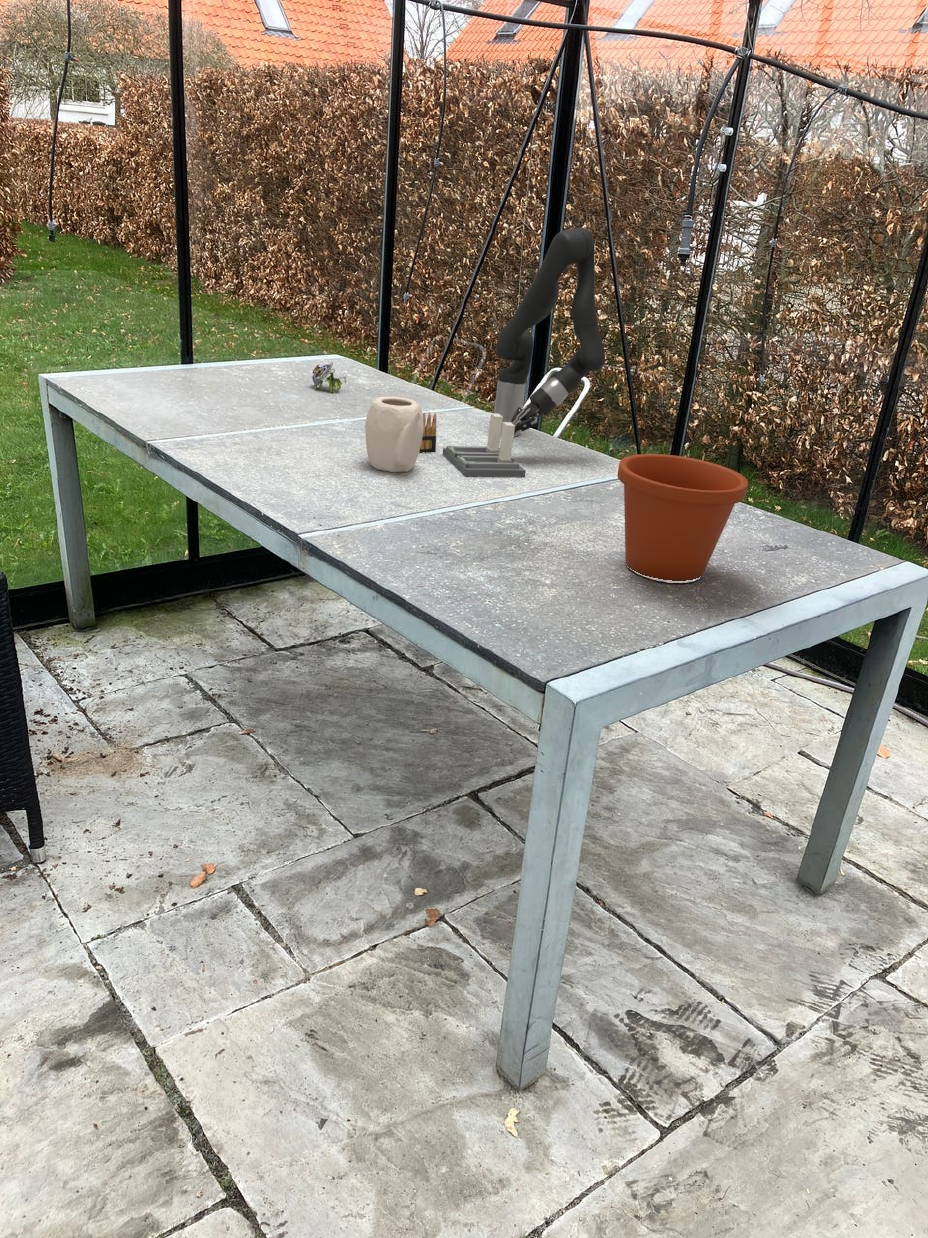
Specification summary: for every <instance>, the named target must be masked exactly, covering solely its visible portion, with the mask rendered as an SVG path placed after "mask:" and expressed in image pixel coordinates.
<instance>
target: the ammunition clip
mask: <svg viewBox="0 0 928 1238" xmlns="http://www.w3.org/2000/svg"><path fill="white" fill-rule="evenodd" d="M422 414H423V422H424V433H423V437H422V442H421V446H420V451H419V454H427V453H426V452H435V453H436V451H437V413H436V412H434V413H433V416H432V415H431V414H432V413H431V412H429V413H428V414H427V419H426V413H425V412H422ZM423 452H425V453H423Z"/></svg>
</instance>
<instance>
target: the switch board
mask: <svg viewBox="0 0 928 1238" xmlns="http://www.w3.org/2000/svg"><path fill="white" fill-rule="evenodd" d="M499 449H500V447H499ZM485 450H486V446H479V445H477V446H475V445H473V446H469V445H465V446H464V445H463V446H462V445H446V447H443V448H442V456H444V457H445V458H446V460H447V461H449V462H450V463H451V464H452V465H453V466H454V467H455V469H457V470H458V471H459V472H460V473H461V474H462V475H463V476H464V477H466V478H525V477H526V472H527V471H526V469H525V468H524V467H522V466H521V464H520V463H518V462H517V461H516V460H515V459H514V458H513V457H511V460H512V463H498V462H497V456H499V453H487V452H486V451H485Z"/></svg>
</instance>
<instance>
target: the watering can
mask: <svg viewBox="0 0 928 1238" xmlns="http://www.w3.org/2000/svg"><path fill="white" fill-rule="evenodd" d="M421 407H422V406H421V405H420V404H419V403H418V402H416V401H415V400H413V399H411V398H406V397H401V396H379V397H377V398H375V399H374V400H373V401H372V402H371V404H370V407H369V409H368V412H367V414H366V419H365V424H364V429H365V430H364V431H365V433H364V434H365V445H366V453H367V457H368V462H369V464H370V465H371V466H372V467H373V468H375V469H376V470H379V471H386V472H390V473H400V472H403V473H406V472H409V471H410V470H411V469H413V468H414V466H415V464H416V462H417V459H418V456H419V454H420V453H419V451H420V446H421V442H422V437H423V433H424V422H423V411H422V408H421Z"/></svg>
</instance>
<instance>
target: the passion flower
mask: <svg viewBox="0 0 928 1238" xmlns="http://www.w3.org/2000/svg"><path fill="white" fill-rule="evenodd" d="M333 365H334V363H333V361H331V362H330V363H329V364H324V365H322V366H320V364H317V365H316V366H315V367H314V369H312V374H313V375H312V376H311V378H312V381H313V384H314V385H313V387H314V388H313V389H314V390H318V389H320V388H321V387H322V385H323V383H326V382H327V383H328V387H329V391H330V393H331V394H334V391H335V390H337V392H338V391H340V390H341V389H342V384H343V382H342V381H341V379H344V383H345V384H346V383H347V376H343V377H339V378H337V377H335V375H334V373H335V372H336V368H332V367H333Z"/></svg>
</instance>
